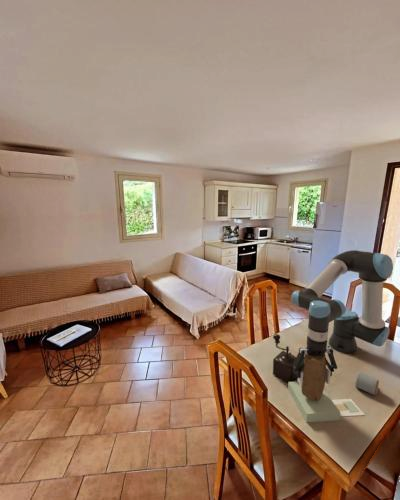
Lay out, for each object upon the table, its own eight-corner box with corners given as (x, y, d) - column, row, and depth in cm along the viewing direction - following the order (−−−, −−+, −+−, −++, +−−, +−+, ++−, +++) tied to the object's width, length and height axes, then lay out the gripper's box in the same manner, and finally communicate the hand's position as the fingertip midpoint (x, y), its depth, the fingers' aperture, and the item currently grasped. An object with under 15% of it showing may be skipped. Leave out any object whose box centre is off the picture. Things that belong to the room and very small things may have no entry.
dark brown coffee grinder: (301, 374, 116) (303, 343, 113) (291, 385, 109) (293, 353, 106) (274, 360, 127) (275, 331, 124) (263, 369, 120) (264, 339, 117)
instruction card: (350, 399, 100) (350, 398, 100) (364, 415, 92) (364, 414, 92) (329, 400, 100) (329, 399, 100) (341, 416, 92) (341, 416, 92)
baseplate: (315, 387, 107) (316, 380, 106) (339, 420, 90) (340, 411, 90) (287, 389, 107) (288, 381, 106) (306, 422, 90) (306, 414, 89)
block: (317, 405, 91) (320, 362, 88) (299, 394, 97) (301, 354, 93) (326, 391, 98) (330, 350, 95) (309, 381, 104) (312, 343, 100)
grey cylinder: (376, 399, 100) (378, 384, 99) (354, 389, 106) (356, 375, 104) (378, 386, 108) (380, 372, 106) (358, 377, 113) (359, 364, 112)
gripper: (293, 344, 89) (290, 391, 92) (350, 341, 90) (345, 388, 94) (285, 333, 96) (283, 377, 100) (338, 331, 97) (334, 375, 101)
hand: (313, 382), depth 97 cm, fingers closed on block, 11 cm apart
